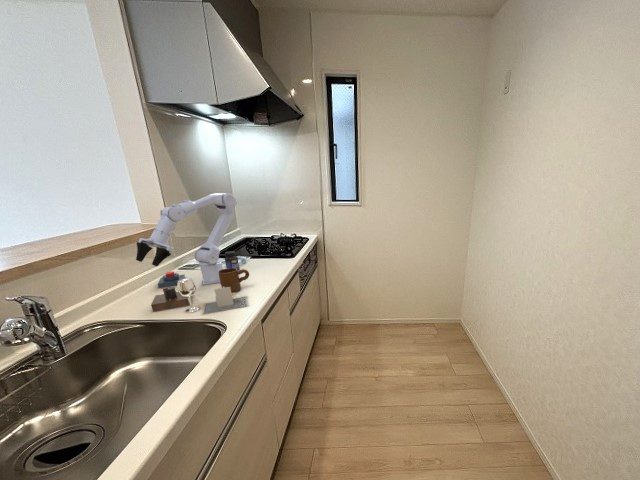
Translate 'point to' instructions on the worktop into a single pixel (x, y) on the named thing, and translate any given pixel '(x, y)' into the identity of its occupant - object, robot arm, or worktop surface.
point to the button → (170, 274)
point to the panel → (169, 302)
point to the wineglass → (187, 291)
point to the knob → (169, 292)
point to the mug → (232, 278)
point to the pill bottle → (231, 260)
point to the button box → (170, 280)
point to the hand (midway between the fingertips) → (146, 263)
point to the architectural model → (224, 301)
